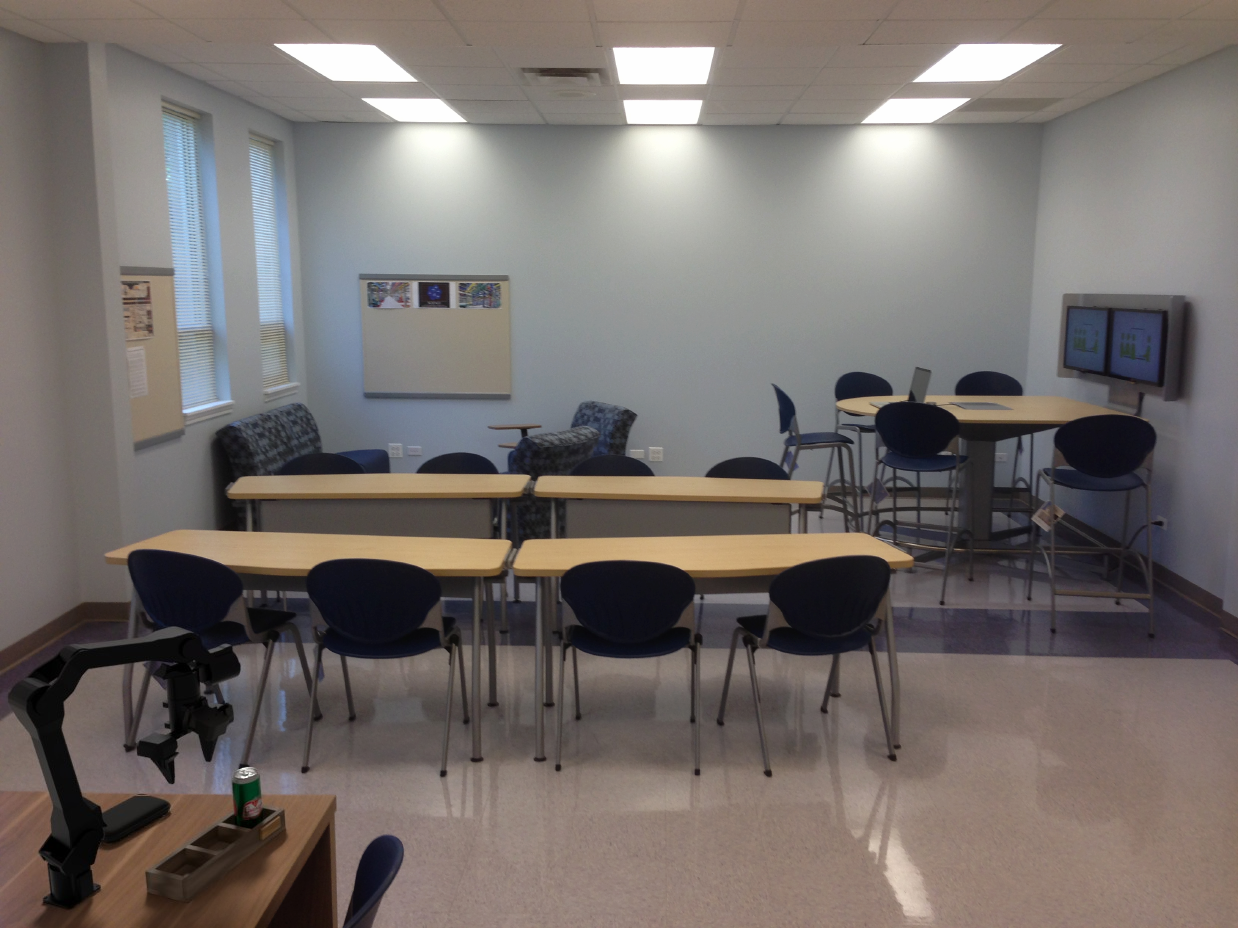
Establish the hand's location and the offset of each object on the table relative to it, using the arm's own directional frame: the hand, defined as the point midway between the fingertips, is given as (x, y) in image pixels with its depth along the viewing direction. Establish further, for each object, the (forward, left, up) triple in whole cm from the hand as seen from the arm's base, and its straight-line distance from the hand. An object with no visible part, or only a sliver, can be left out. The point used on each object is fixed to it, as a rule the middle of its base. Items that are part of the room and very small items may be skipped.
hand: (190, 772), depth 182 cm
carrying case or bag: (-17, -1, -14) cm, 21 cm away
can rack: (+10, -4, -13) cm, 17 cm away
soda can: (+10, +3, -12) cm, 16 cm away
